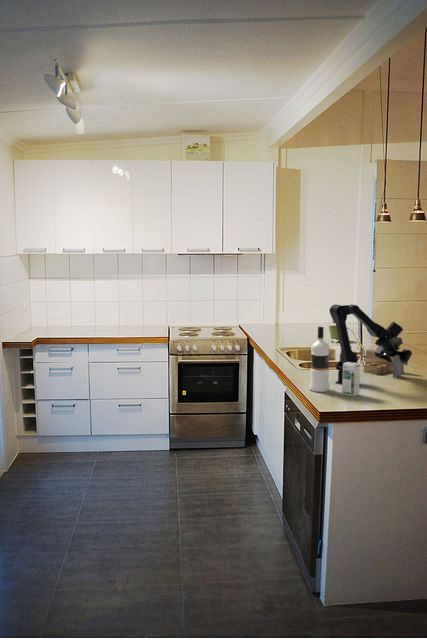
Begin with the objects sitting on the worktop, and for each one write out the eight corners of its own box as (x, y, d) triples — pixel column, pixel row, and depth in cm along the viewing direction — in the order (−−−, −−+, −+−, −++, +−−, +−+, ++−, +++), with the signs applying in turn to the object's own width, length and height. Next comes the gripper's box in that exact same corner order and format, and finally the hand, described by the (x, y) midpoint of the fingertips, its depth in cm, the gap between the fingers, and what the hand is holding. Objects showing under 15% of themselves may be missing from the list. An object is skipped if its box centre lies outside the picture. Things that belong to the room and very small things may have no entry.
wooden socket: (388, 377, 279) (388, 358, 277) (353, 370, 296) (353, 352, 294) (403, 373, 287) (404, 355, 286) (368, 366, 304) (369, 349, 303)
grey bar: (396, 377, 278) (398, 352, 276) (392, 376, 280) (393, 352, 278) (401, 376, 280) (402, 351, 279) (397, 375, 282) (398, 351, 281)
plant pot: (327, 343, 384) (327, 327, 382) (328, 340, 395) (329, 325, 393) (344, 343, 380) (344, 328, 379) (345, 341, 391) (345, 325, 390)
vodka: (307, 387, 257) (308, 325, 253) (326, 387, 258) (328, 325, 254) (311, 392, 248) (313, 328, 244) (331, 392, 248) (333, 328, 245)
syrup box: (341, 394, 245) (342, 363, 243) (348, 392, 249) (349, 361, 247) (352, 396, 241) (353, 365, 239) (359, 394, 245) (360, 363, 243)
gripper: (410, 334, 267) (422, 353, 275) (378, 330, 282) (390, 348, 290) (401, 352, 263) (412, 371, 272) (368, 346, 278) (380, 365, 286)
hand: (398, 363), depth 280 cm, fingers open, 9 cm apart
